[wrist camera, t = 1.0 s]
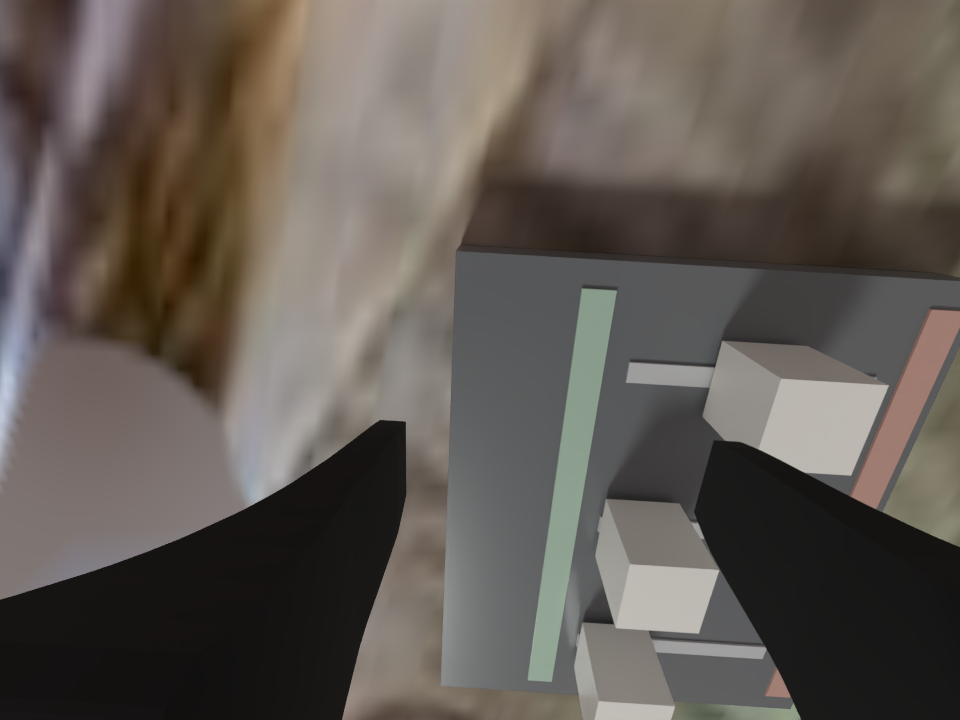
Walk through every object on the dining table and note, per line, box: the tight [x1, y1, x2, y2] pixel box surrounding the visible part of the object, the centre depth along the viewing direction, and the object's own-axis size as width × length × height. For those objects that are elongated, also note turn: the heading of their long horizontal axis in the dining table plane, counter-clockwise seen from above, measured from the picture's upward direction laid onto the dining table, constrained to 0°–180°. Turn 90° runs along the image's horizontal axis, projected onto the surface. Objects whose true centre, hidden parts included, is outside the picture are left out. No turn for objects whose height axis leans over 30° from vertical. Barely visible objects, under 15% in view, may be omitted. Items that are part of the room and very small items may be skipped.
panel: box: [441, 245, 960, 709], centre depth 20 cm, size 18×22×2 cm
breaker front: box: [702, 341, 889, 476], centre depth 14 cm, size 3×3×3 cm
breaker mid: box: [595, 499, 719, 634], centre depth 17 cm, size 3×3×3 cm
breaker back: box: [574, 622, 675, 720], centre depth 19 cm, size 3×3×3 cm
